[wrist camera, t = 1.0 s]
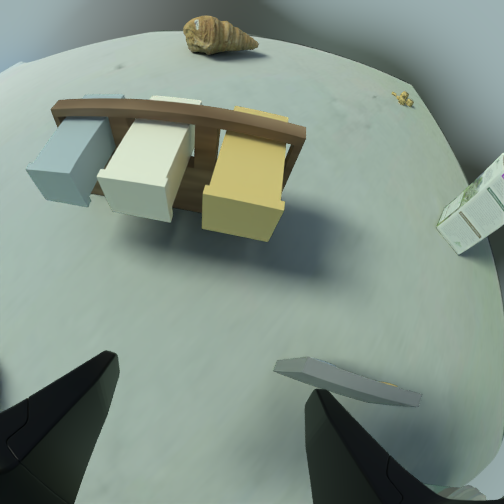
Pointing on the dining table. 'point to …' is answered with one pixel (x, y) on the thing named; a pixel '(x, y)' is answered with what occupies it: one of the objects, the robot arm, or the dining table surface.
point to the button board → (205, 134)
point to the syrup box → (475, 210)
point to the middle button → (149, 166)
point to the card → (345, 382)
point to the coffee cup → (458, 492)
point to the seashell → (216, 36)
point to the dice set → (404, 99)
